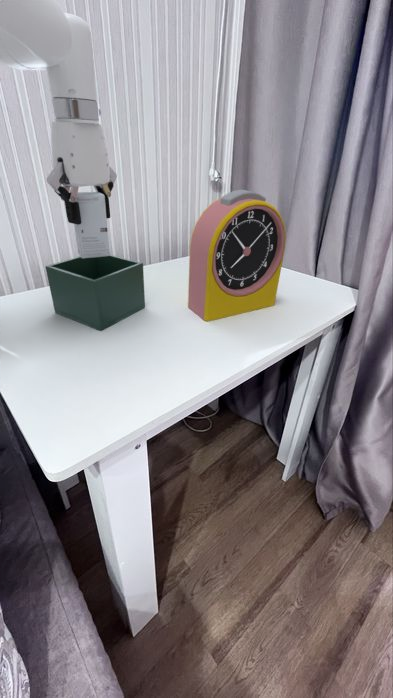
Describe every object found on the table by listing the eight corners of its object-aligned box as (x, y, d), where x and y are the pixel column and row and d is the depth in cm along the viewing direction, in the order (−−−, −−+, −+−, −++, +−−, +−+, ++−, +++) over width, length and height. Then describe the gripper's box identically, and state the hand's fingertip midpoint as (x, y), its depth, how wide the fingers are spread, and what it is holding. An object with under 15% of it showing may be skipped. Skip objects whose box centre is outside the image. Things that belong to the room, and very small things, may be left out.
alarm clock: (205, 321, 75) (214, 195, 61) (186, 306, 82) (189, 189, 68) (275, 305, 85) (296, 192, 70) (253, 292, 91) (268, 186, 77)
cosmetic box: (82, 259, 68) (72, 195, 62) (77, 253, 72) (67, 192, 65) (111, 256, 71) (105, 194, 64) (105, 250, 74) (99, 191, 68)
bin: (100, 331, 70) (94, 281, 64) (55, 312, 76) (45, 266, 70) (145, 307, 80) (143, 262, 75) (101, 292, 87) (96, 250, 81)
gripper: (98, 116, 66) (107, 212, 75) (17, 109, 53) (41, 224, 63) (126, 117, 63) (132, 216, 72) (48, 109, 50) (68, 230, 59)
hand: (90, 219), depth 67 cm, fingers closed on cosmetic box, 7 cm apart
